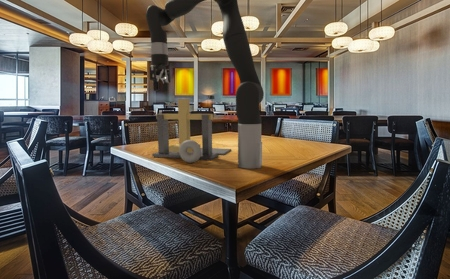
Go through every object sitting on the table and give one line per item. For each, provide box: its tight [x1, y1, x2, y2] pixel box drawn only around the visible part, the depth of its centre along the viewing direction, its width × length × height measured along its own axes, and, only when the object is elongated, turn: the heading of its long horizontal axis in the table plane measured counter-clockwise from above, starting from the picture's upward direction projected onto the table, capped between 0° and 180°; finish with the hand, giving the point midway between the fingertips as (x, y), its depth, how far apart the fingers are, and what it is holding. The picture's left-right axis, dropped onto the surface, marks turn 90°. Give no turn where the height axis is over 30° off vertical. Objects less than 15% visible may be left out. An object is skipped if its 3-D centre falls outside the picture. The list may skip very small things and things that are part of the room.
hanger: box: [155, 98, 214, 153], centre depth 124 cm, size 28×10×24 cm, turn 73°
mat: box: [201, 147, 232, 156], centre depth 138 cm, size 20×14×1 cm
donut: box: [179, 139, 202, 164], centre depth 112 cm, size 10×3×10 cm, turn 76°
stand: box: [151, 113, 219, 161], centre depth 125 cm, size 30×10×20 cm, turn 73°
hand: (161, 91), depth 119 cm, fingers open, 8 cm apart
